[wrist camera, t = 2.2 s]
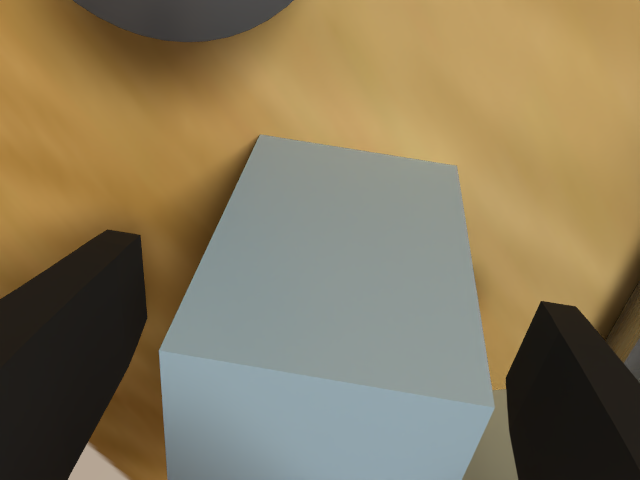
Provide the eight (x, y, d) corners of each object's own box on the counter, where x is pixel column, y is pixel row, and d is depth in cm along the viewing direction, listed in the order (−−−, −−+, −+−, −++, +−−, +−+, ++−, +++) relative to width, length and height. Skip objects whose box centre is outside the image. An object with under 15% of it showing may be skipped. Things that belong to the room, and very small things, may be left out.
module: (417, 312, 14) (423, 570, 9) (248, 284, 14) (167, 524, 9) (458, 166, 12) (499, 408, 7) (257, 133, 12) (155, 349, 7)
